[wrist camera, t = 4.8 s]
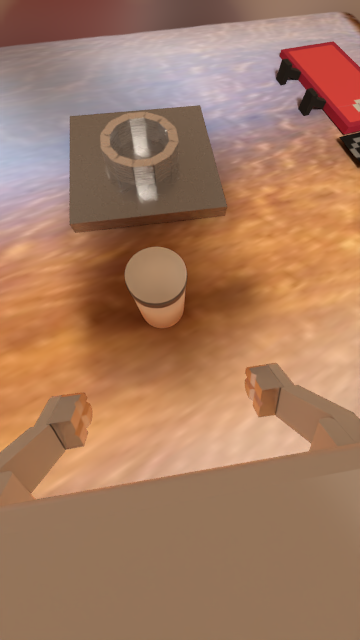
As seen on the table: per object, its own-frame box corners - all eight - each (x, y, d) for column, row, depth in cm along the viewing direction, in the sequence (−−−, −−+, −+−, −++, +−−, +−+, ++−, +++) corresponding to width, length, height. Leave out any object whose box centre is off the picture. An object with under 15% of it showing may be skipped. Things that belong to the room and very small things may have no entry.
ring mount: (75, 232, 27) (58, 208, 24) (74, 127, 33) (61, 94, 29) (224, 215, 29) (231, 189, 25) (199, 117, 34) (201, 83, 30)
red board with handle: (347, 175, 31) (428, 155, 33) (363, 155, 28) (450, 134, 30) (260, 63, 40) (328, 52, 42) (266, 40, 37) (339, 29, 39)
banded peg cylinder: (142, 331, 24) (126, 306, 16) (138, 290, 25) (121, 250, 18) (187, 325, 24) (192, 297, 16) (180, 285, 25) (182, 242, 18)
